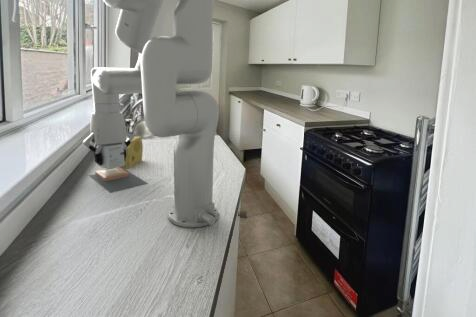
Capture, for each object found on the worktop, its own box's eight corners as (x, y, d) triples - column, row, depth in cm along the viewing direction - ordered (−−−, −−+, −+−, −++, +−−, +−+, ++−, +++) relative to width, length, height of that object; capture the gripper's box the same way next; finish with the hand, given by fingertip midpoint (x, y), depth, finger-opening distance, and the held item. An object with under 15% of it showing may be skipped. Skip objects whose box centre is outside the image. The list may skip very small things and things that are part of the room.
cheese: (129, 169, 110) (127, 142, 107) (102, 166, 112) (100, 139, 109) (143, 161, 120) (142, 136, 117) (119, 158, 122) (117, 134, 119)
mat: (148, 184, 97) (148, 183, 97) (110, 194, 89) (110, 192, 89) (124, 169, 109) (124, 168, 109) (88, 176, 101) (88, 175, 101)
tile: (128, 172, 102) (118, 166, 107) (104, 177, 96) (94, 170, 102) (128, 176, 102) (118, 169, 108) (104, 181, 97) (95, 174, 102)
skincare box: (109, 169, 97) (107, 147, 95) (97, 166, 100) (95, 144, 98) (125, 165, 102) (123, 144, 100) (113, 161, 105) (112, 141, 103)
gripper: (128, 105, 104) (131, 155, 109) (73, 108, 92) (79, 164, 97) (138, 108, 99) (141, 160, 104) (81, 111, 87) (87, 170, 92)
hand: (111, 161), depth 101 cm, fingers closed on skincare box, 7 cm apart
